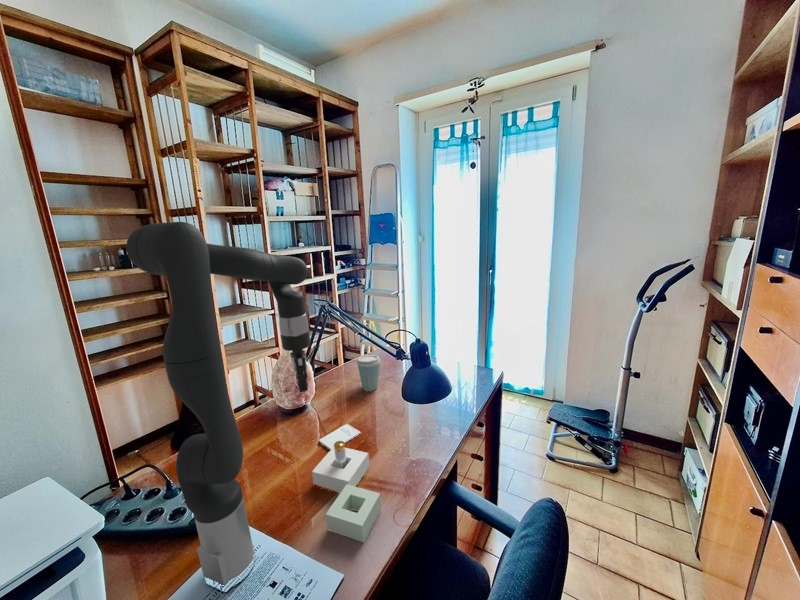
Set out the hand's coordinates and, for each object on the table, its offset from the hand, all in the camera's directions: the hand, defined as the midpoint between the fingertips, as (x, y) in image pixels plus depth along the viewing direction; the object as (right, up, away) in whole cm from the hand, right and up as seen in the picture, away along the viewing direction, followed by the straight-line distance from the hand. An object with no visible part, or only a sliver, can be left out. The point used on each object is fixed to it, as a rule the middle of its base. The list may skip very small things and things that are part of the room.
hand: (301, 384), depth 97 cm
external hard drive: (+7, -25, +22) cm, 34 cm away
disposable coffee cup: (+15, -16, +56) cm, 60 cm away
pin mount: (+17, -32, -11) cm, 37 cm away
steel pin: (+11, -28, +4) cm, 31 cm away
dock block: (+11, -28, +4) cm, 31 cm away
